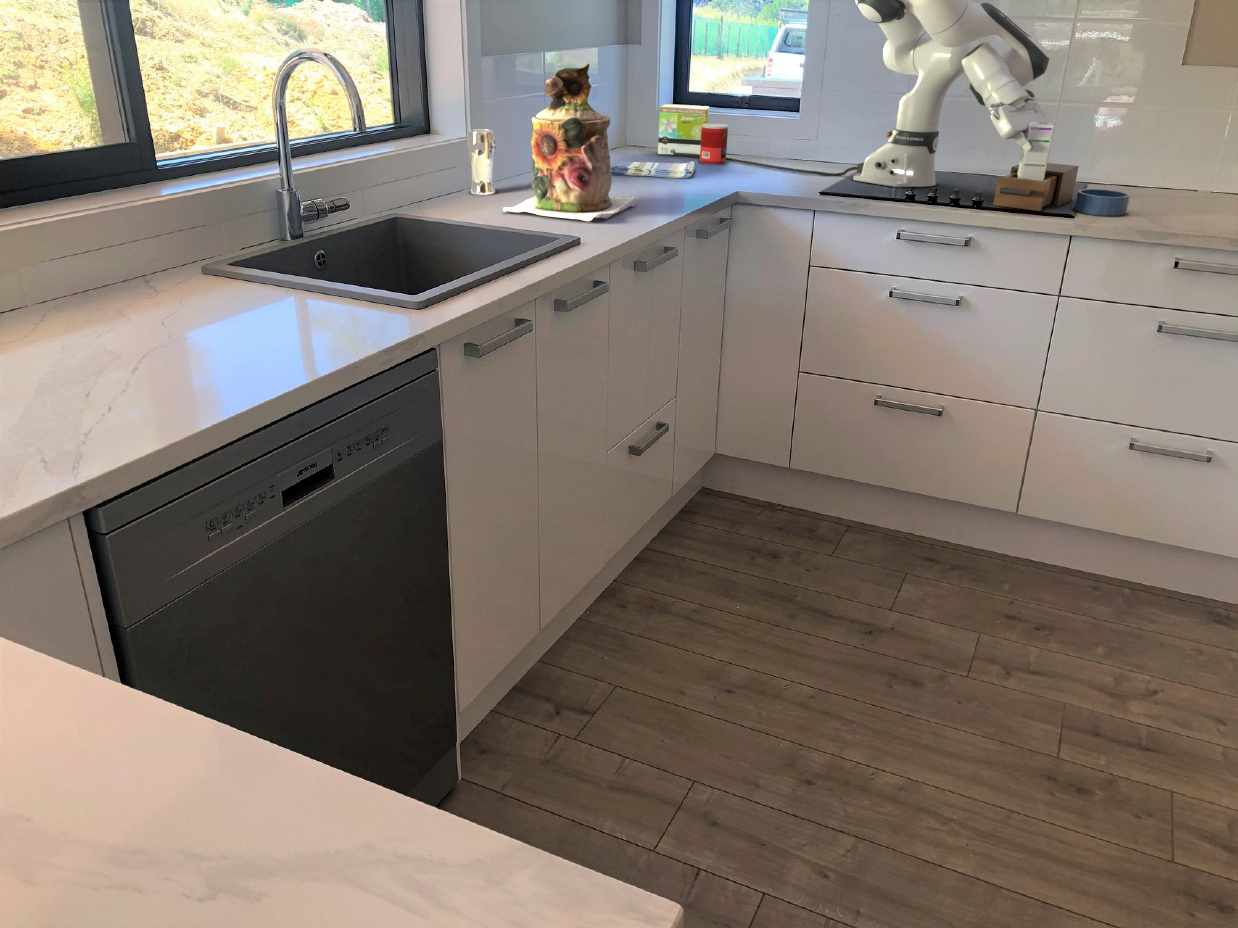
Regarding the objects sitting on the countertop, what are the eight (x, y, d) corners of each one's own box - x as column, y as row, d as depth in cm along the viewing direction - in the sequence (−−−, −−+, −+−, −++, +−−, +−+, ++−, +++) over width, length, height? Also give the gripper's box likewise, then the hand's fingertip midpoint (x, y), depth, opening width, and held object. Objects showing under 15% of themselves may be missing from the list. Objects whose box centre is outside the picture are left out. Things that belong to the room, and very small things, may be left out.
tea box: (657, 155, 321) (658, 106, 315) (661, 151, 330) (662, 103, 324) (704, 157, 319) (706, 108, 313) (706, 153, 328) (709, 105, 322)
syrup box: (1043, 187, 245) (1056, 125, 239) (1017, 185, 246) (1029, 123, 240) (1039, 183, 251) (1051, 122, 244) (1014, 182, 252) (1026, 121, 245)
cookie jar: (547, 197, 250) (546, 58, 236) (640, 206, 241) (644, 63, 228) (499, 214, 229) (495, 63, 216) (598, 225, 221) (600, 68, 207)
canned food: (726, 164, 306) (729, 126, 301) (700, 164, 306) (702, 126, 301) (724, 161, 313) (727, 124, 308) (699, 160, 313) (700, 123, 308)
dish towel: (692, 179, 280) (692, 169, 278) (608, 175, 283) (608, 165, 282) (697, 170, 295) (697, 160, 294) (618, 166, 298) (618, 156, 297)
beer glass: (485, 189, 258) (483, 128, 252) (502, 193, 254) (501, 131, 248) (463, 192, 254) (461, 130, 248) (480, 196, 249) (478, 133, 243)
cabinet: (1056, 208, 251) (1063, 172, 247) (1005, 201, 257) (1011, 167, 254) (1071, 200, 261) (1078, 166, 258) (1022, 194, 268) (1028, 161, 264)
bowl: (1069, 212, 246) (1072, 193, 244) (1081, 205, 254) (1084, 187, 253) (1119, 218, 240) (1124, 199, 238) (1130, 211, 248) (1134, 193, 246)
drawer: (1035, 213, 238) (1041, 184, 236) (987, 207, 244) (992, 178, 242) (1056, 203, 251) (1061, 175, 249) (1009, 197, 257) (1014, 170, 255)
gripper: (997, 95, 238) (1029, 143, 235) (1036, 91, 251) (1067, 137, 249) (977, 113, 242) (1008, 160, 240) (1016, 109, 255) (1045, 153, 253)
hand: (1038, 148), depth 244 cm, fingers closed on syrup box, 7 cm apart
